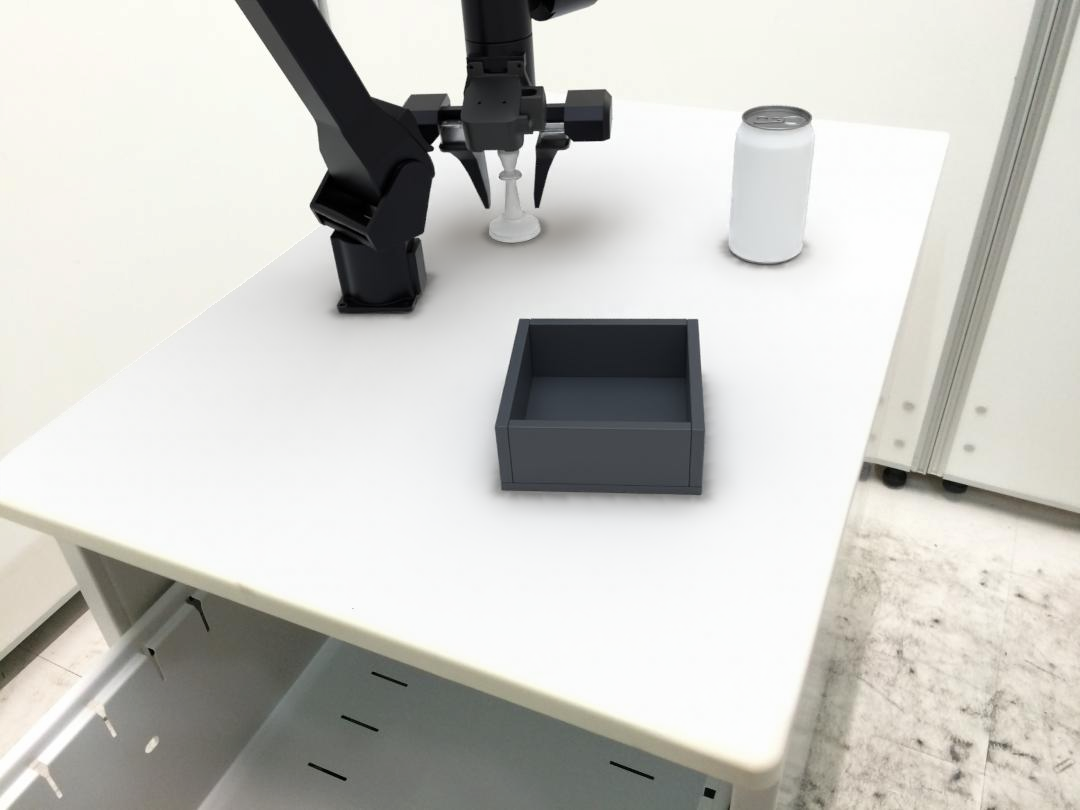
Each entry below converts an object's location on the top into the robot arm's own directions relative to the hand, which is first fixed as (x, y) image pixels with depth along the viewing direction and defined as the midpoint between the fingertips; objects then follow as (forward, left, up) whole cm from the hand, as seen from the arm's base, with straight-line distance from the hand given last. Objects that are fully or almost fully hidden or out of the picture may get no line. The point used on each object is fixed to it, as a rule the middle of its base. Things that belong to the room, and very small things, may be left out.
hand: (512, 206), depth 88 cm
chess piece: (0, 0, -3) cm, 3 cm away
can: (+23, -4, -3) cm, 24 cm away
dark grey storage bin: (+10, -30, -2) cm, 32 cm away
